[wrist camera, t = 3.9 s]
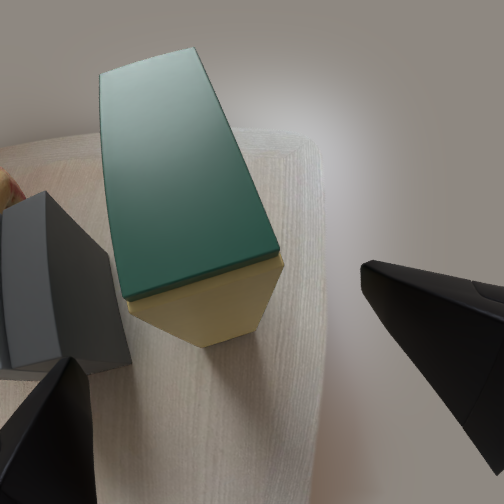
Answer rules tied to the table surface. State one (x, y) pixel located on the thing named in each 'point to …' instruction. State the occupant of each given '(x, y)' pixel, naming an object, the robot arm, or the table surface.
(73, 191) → the table surface
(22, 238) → the grey grooved block
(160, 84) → the green book
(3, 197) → the fruit
